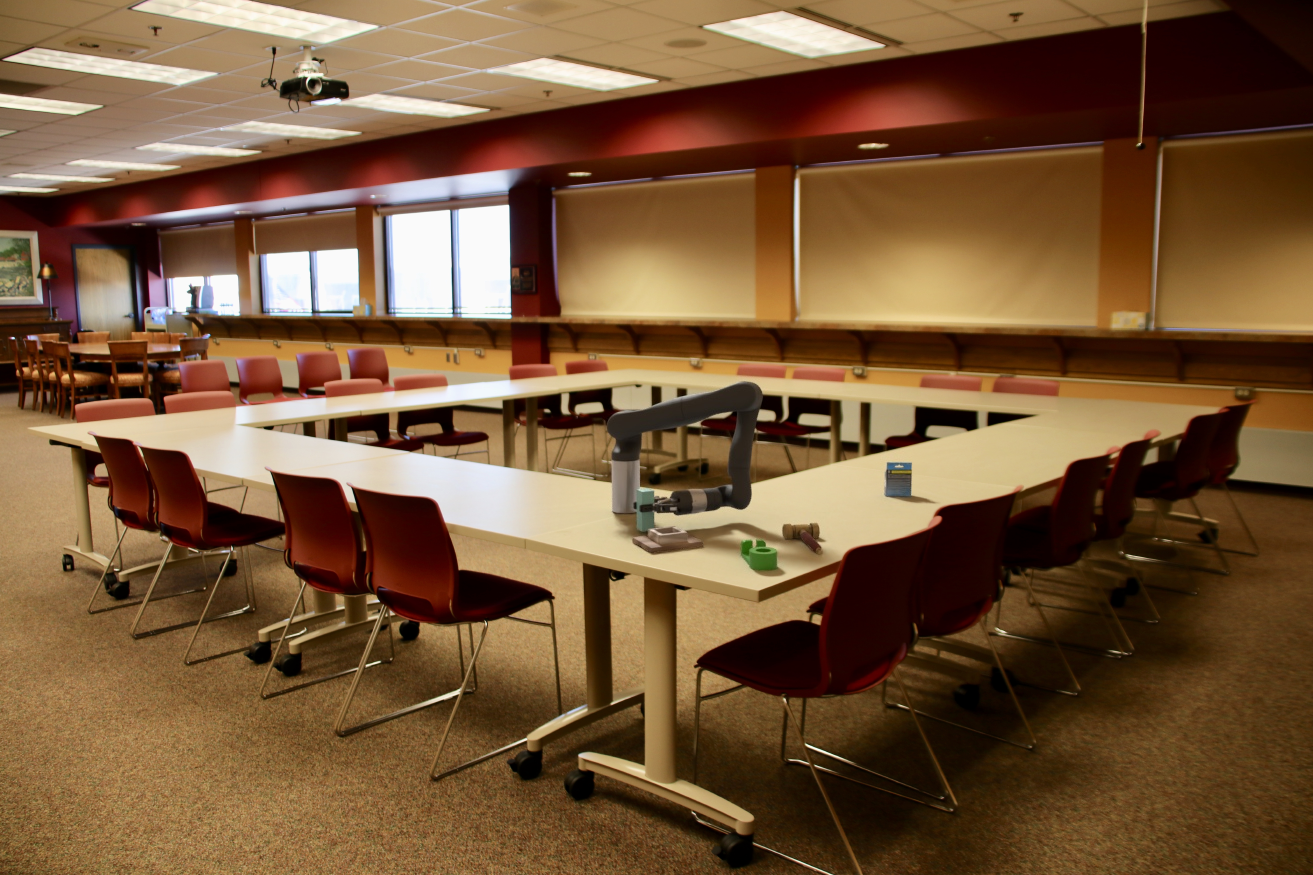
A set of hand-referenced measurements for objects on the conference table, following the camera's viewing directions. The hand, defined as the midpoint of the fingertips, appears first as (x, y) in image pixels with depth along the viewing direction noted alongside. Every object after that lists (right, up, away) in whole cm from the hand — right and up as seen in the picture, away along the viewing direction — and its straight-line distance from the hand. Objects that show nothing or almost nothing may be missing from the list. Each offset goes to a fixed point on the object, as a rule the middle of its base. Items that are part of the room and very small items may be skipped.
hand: (637, 507), depth 267 cm
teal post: (+3, -7, +2) cm, 8 cm away
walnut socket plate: (+9, -10, -11) cm, 17 cm away
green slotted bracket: (+33, -13, -30) cm, 46 cm away
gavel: (+49, -10, -13) cm, 51 cm away
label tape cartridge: (+91, 0, +53) cm, 106 cm away
